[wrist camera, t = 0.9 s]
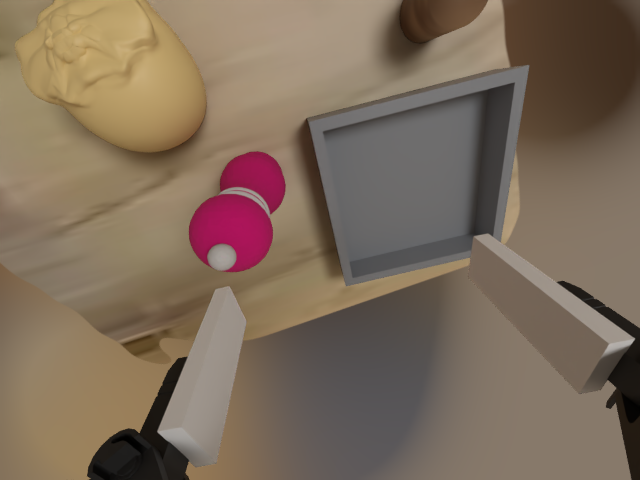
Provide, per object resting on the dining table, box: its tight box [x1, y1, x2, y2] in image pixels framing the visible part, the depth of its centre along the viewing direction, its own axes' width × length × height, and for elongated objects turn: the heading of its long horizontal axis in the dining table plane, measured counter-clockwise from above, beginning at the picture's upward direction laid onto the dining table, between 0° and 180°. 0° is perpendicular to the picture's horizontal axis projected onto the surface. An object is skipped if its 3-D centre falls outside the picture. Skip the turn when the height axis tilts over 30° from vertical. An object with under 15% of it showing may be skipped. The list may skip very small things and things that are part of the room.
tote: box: [307, 65, 529, 286], centre depth 33 cm, size 22×22×5 cm
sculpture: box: [15, 0, 206, 152], centre depth 23 cm, size 12×12×11 cm
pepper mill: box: [189, 152, 285, 272], centre depth 24 cm, size 7×7×20 cm
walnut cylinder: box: [400, 0, 488, 43], centre depth 23 cm, size 5×5×7 cm
